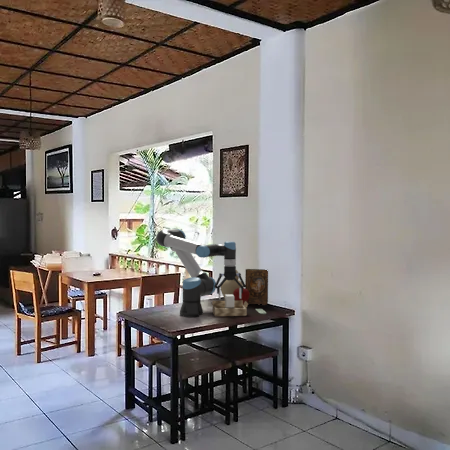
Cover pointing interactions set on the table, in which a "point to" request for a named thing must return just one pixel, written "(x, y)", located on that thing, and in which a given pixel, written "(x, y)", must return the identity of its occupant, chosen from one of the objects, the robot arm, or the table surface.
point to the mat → (261, 311)
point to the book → (257, 286)
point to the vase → (230, 286)
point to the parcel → (229, 301)
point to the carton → (236, 311)
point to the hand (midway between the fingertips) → (230, 298)
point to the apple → (243, 295)
